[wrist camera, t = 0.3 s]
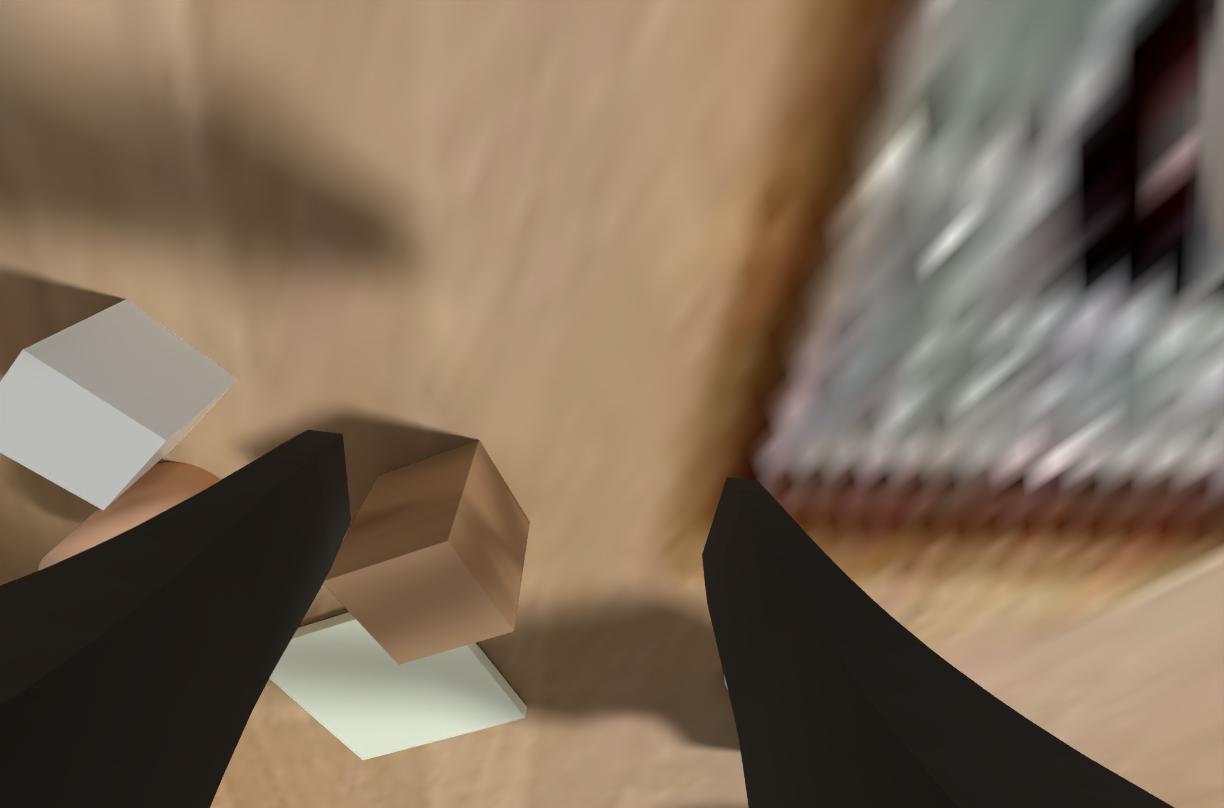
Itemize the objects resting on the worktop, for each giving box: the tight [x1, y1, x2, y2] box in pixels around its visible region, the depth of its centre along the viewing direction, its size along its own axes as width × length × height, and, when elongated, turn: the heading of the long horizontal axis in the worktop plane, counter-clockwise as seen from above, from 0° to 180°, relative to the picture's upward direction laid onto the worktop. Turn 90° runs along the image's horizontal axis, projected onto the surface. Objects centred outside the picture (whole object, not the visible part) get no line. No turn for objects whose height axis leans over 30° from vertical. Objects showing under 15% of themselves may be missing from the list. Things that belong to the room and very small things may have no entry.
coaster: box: [269, 612, 527, 760], centre depth 29 cm, size 10×10×1 cm
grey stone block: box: [0, 299, 238, 511], centre depth 18 cm, size 4×4×4 cm
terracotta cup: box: [38, 462, 220, 571], centre depth 21 cm, size 4×4×4 cm
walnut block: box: [323, 440, 530, 665], centre depth 21 cm, size 4×4×6 cm
